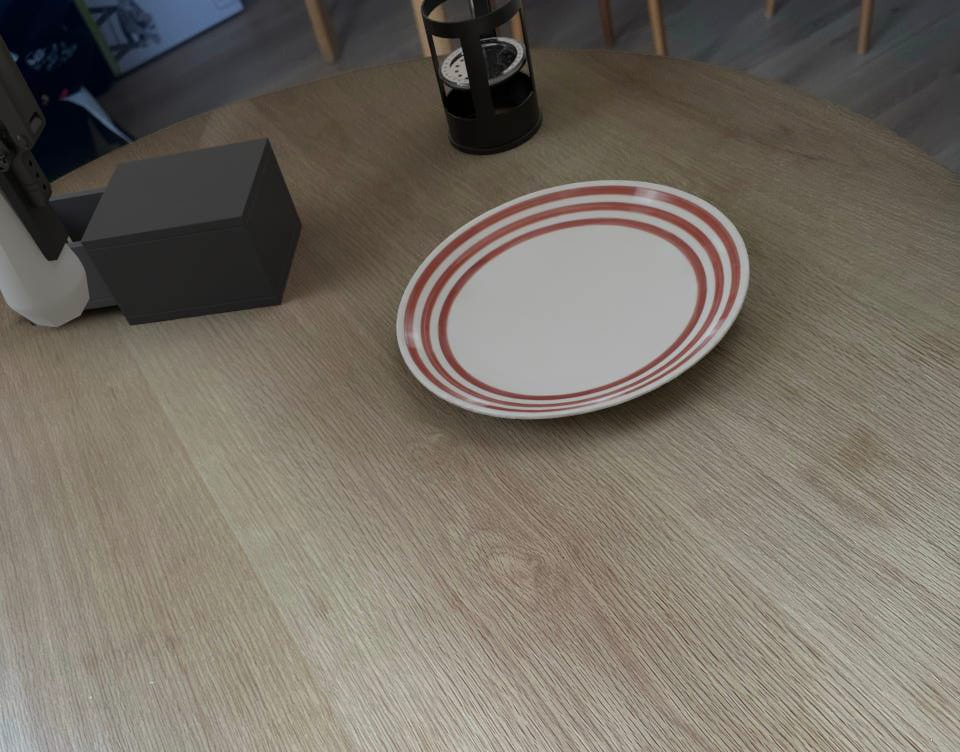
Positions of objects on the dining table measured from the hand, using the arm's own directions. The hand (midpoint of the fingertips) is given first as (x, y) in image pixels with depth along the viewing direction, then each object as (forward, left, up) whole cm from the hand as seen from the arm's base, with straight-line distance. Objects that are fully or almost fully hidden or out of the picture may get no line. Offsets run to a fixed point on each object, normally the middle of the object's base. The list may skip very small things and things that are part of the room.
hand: (25, 252), depth 69 cm
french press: (+26, +40, -18) cm, 51 cm away
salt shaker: (0, 0, -5) cm, 5 cm away
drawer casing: (+1, +22, -18) cm, 29 cm away
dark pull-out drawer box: (-12, +22, -17) cm, 30 cm away
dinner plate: (+34, +9, -18) cm, 40 cm away
